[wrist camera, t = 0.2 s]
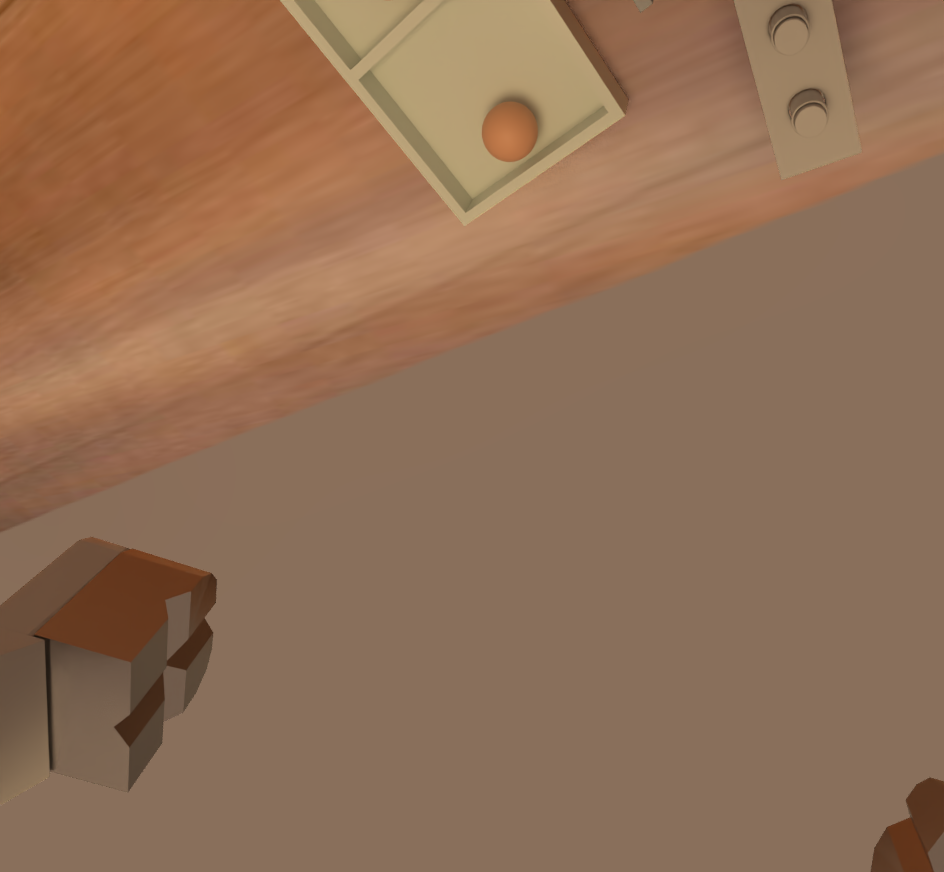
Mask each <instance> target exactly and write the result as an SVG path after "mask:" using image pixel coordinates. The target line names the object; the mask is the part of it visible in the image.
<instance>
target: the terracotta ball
mask: <svg viewBox="0 0 944 872" xmlns="http://www.w3.org/2000/svg"><path fill="white" fill-rule="evenodd" d="M537 137H538V125H537V121H536V119H535V116H534V115H533V113H532V112H531V111H530V110H529V109H528V108H527V107H526V106H525V105H523V104H521V103H518V102H512V101H510V102H503V103H500V104H498V105H496V106H495V107H493V108H492V109H491V110H490V111H489V113H488V114H487V115H486V117H485V119H484V122H483V125H482V139H483V143H484V145H485V147H486V149H487V150H488V152H489V153H490V154H491V155H492V156H493V157H495V158H496V159H498V160H501V161H504V162H515V161H518V160H521V159H523V158H524V157H526V156H527V155H528V154H529V153H530V152H531V151H532V149H533V148H534V146H535V144H536V141H537Z"/></svg>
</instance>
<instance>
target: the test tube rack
mask: <svg viewBox="0 0 944 872" xmlns="http://www.w3.org/2000/svg"><path fill="white" fill-rule="evenodd" d="M734 4H735V8H736V12H737V15H738V19H739V23H740V27H741V30H742V34H743V38H744V42H745V45H746V49H747V53H748V57H749V60H750V64H751V68H752V72H753V76H754V79H755V83H756V87H757V91H758V94H759V98H760V102H761V106H762V109H763V113H764V117H765V121H766V125H767V128H768V132H769V136H770V140H771V143H772V147H773V151H774V155H775V158H776V162H777V166H778V170H779V173H780V177H781V180H784V179H787V178H790V177H793V176H796V175H798V174H801V173H804V172H807V171H810V170H813V169H816V168H819V167H822V166H825V165H828V164H831V163H833V162H836V161H839V160H842V159H845V158H848V157H851V156H854V155H857V154H860V153H862V149H861V144H860V139H859V134H858V129H857V123H856V118H855V113H854V108H853V103H852V98H851V93H850V88H849V83H848V78H847V73H846V68H845V63H844V58H843V53H842V48H841V43H840V38H839V33H838V28H837V23H836V18H835V13H834V8H833V3H832V0H734ZM823 97H824V98H825V104H824V101H823ZM789 110H790V112H791V116H792V117H791V116H790V114H789Z"/></svg>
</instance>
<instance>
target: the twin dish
mask: <svg viewBox="0 0 944 872" xmlns="http://www.w3.org/2000/svg"><path fill="white" fill-rule="evenodd" d="M280 1H281V2H282V3H283V5H284V6H285V7H286V8H287V9H288V11H289V12H290V13H291V14H292V16H293V17H294V18H295V19H296V20H297V22H298V23H299V24H300V25H301V27H302V28H303V29H304V30H305V32H306V33H307V34H308V35H309V36H310V38H311V39H312V40H313V41H314V43H315V44H316V45H317V46H318V47H319V49H320V50H321V51H322V52H323V54H324V55H325V56H326V57H327V58H328V60H329V61H330V62H331V63H332V65H333V66H334V67H335V68H336V70H337V71H338V72H339V73H340V74H341V76H342V77H343V78H344V79H345V81H346V82H347V83H348V84H349V85H350V87H351V88H352V89H353V90H354V92H355V93H356V94H357V95H358V96H359V98H360V99H361V100H362V101H363V103H364V104H365V105H366V106H367V107H368V109H369V110H370V111H371V112H372V114H373V115H374V116H375V117H376V119H377V120H378V121H379V122H380V123H381V125H382V126H383V127H384V128H385V130H386V131H387V132H388V133H389V134H390V136H391V137H392V138H393V139H394V141H395V142H396V143H397V144H398V145H399V147H400V148H401V149H402V150H403V152H404V153H405V154H406V155H407V157H408V158H409V159H410V160H411V161H412V163H413V164H414V165H415V166H416V168H417V169H418V170H419V171H420V172H421V174H422V175H423V176H424V177H425V179H426V180H427V181H428V182H429V183H430V185H431V186H432V187H433V188H434V190H435V191H436V192H437V193H438V194H439V196H440V197H441V198H442V199H443V201H444V202H445V203H446V204H447V206H448V207H449V208H450V209H451V210H452V212H453V213H454V214H455V215H456V217H457V218H458V219H459V220H460V221H461V223H462V224H463V225H464V226H466V225H467V224H469V223H470V222H472V221H473V220H474V219H476V218H477V217H479V216H480V215H482V214H483V213H485V212H486V211H487V210H489V209H490V208H492V207H493V206H495V205H496V204H498V203H499V202H501V201H502V200H503V199H505V198H506V197H508V196H509V195H511V194H512V193H514V192H515V191H517V190H518V189H519V188H521V187H522V186H524V185H525V184H527V183H528V182H530V181H531V180H532V179H534V178H535V177H537V176H538V175H540V174H541V173H543V172H544V171H546V170H547V169H548V168H550V167H551V166H553V165H554V164H556V163H557V162H559V161H560V160H562V159H563V158H564V157H566V156H567V155H569V154H570V153H572V152H573V151H575V150H576V149H577V148H579V147H580V146H582V145H583V144H585V143H586V142H588V141H589V140H591V139H592V138H593V137H595V136H596V135H598V134H599V133H601V132H602V131H604V130H605V129H607V128H608V127H609V126H611V125H612V124H614V123H615V122H617V121H618V120H620V119H621V118H623V117H624V116H625V115H626V110H627V105H628V101H629V100H628V98H627V97H626V95H625V94H624V92H623V90H622V89H621V87H620V86H619V84H618V83H617V81H616V80H615V78H614V76H613V75H612V73H611V72H610V70H609V69H608V67H607V66H606V64H605V62H604V61H603V59H602V58H601V56H600V55H599V53H598V51H597V50H596V48H595V47H594V45H593V44H592V42H591V41H590V39H589V37H588V36H587V34H586V33H585V31H584V30H583V28H582V27H581V25H580V23H579V22H578V20H577V19H576V17H575V16H574V14H573V13H572V11H571V9H570V8H569V6H568V5H567V3H566V2H565V0H280ZM510 101H512V102H518V103H521V104H523V105H525V106H526V107H527V108H528V109H529V110H530V111H531V112H532V113H533V115H534V116H535V119H536V121H537V125H538V137H537V141H536V144H535V146H534V148H533V149H532V151H531V152H530V153H529V154H528V155H527V156H526V157H524V158H523V159H521V160H518V161H515V162H504V161H501V160H498V159H496V158H495V157H493V156H492V155H491V154H490V153H489V152H488V150H487V149H486V147H485V145H484V143H483V139H482V125H483V122H484V119H485V117H486V115H487V114H488V113H489V111H490V110H491V109H492V108H493V107H495V106H496V105H498V104H500V103H503V102H510Z"/></svg>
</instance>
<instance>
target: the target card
mask: <svg viewBox="0 0 944 872" xmlns="http://www.w3.org/2000/svg"><path fill="white" fill-rule="evenodd" d="M633 1H634V3H635V4H636V6H637V8H638V9H639V11H640V13H641V12H642V11H644V10H645V9H646V8H648V7H649V6H650V5H652V4H653V0H633Z"/></svg>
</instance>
